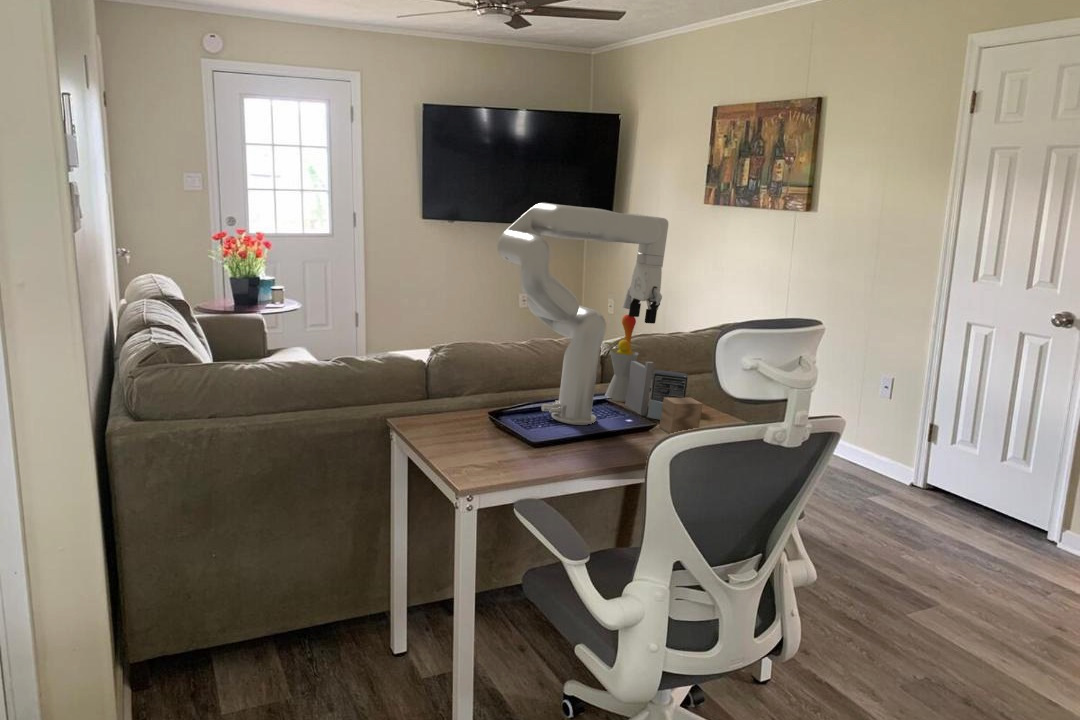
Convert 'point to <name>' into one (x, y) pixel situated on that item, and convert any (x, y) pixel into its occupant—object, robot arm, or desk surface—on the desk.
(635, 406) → the grey rectangular panel
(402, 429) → the desk surface
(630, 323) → the lava lamp
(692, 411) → the wooden block
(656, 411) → the door
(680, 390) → the small box
